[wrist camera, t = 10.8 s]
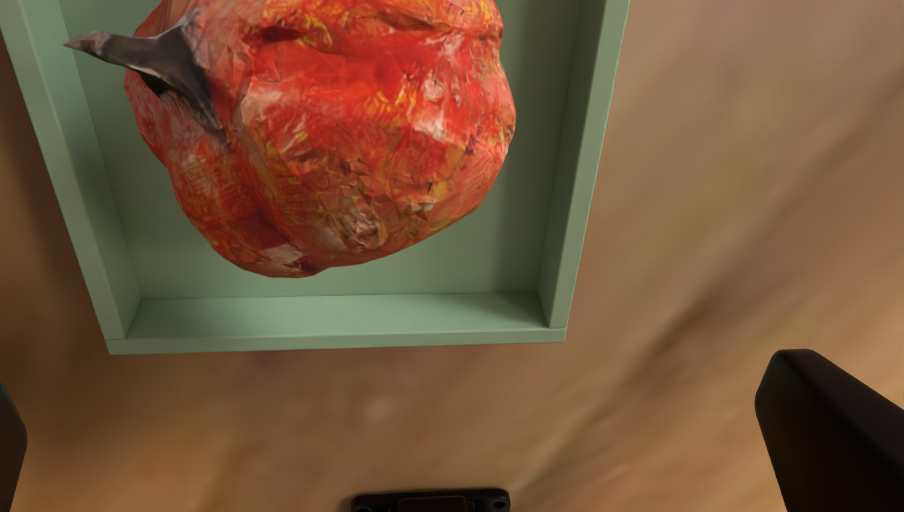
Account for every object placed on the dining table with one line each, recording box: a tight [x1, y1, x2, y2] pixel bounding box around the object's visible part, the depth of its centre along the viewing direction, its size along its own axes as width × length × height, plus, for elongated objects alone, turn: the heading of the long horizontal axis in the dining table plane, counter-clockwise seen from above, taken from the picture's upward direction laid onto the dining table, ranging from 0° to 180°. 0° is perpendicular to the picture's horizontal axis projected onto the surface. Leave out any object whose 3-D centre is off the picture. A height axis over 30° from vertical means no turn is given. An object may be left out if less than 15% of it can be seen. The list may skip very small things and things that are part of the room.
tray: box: [0, 0, 630, 355], centre depth 16 cm, size 17×13×2 cm
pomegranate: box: [63, 0, 516, 279], centre depth 14 cm, size 7×7×10 cm
